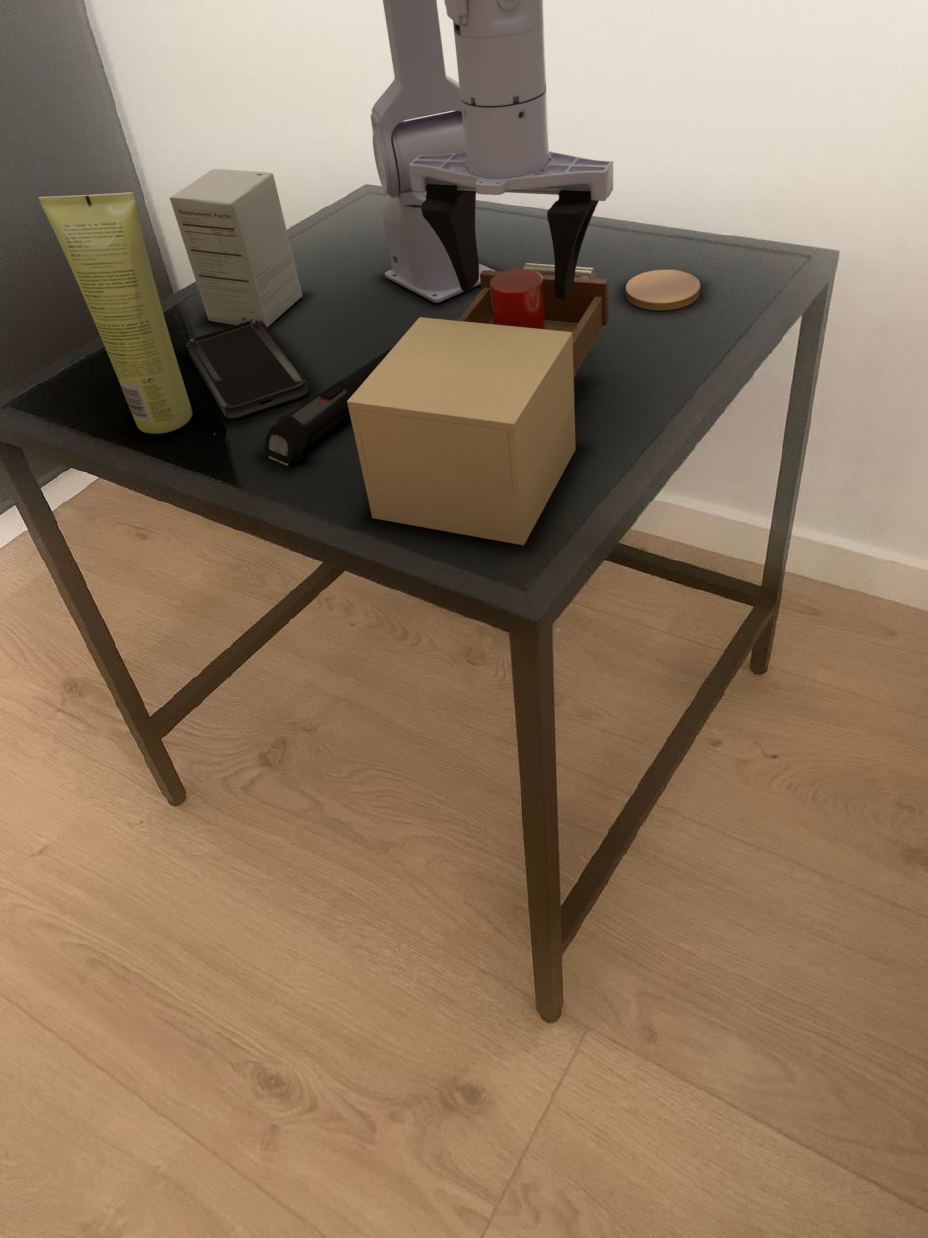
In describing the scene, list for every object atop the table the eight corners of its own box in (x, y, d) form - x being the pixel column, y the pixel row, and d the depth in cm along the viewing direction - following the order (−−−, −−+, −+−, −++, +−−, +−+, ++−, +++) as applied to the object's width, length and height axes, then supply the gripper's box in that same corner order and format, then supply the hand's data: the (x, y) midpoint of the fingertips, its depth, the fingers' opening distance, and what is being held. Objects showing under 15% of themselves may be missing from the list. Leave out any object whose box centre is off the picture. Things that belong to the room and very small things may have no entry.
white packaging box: (246, 289, 102) (212, 166, 93) (304, 297, 99) (275, 170, 90) (205, 322, 97) (166, 195, 88) (265, 331, 94) (231, 201, 86)
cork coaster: (610, 295, 92) (610, 287, 92) (661, 270, 95) (661, 262, 94) (663, 318, 88) (663, 310, 87) (715, 291, 91) (716, 283, 90)
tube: (186, 396, 87) (108, 174, 73) (209, 418, 84) (132, 190, 70) (128, 420, 85) (37, 196, 71) (149, 444, 82) (58, 214, 68)
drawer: (504, 292, 85) (500, 248, 82) (622, 302, 81) (623, 256, 78) (433, 383, 75) (426, 337, 72) (565, 400, 71) (563, 351, 68)
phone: (259, 317, 94) (309, 382, 84) (262, 328, 95) (312, 393, 84) (182, 341, 92) (223, 410, 82) (186, 352, 93) (227, 422, 82)
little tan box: (435, 429, 78) (419, 316, 72) (575, 449, 74) (572, 331, 67) (372, 518, 71) (346, 401, 64) (524, 545, 67) (514, 423, 60)
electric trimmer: (418, 381, 85) (413, 349, 83) (294, 469, 76) (285, 435, 74) (386, 371, 87) (381, 339, 84) (262, 455, 78) (253, 422, 76)
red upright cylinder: (486, 353, 77) (479, 281, 72) (523, 334, 78) (519, 263, 74) (517, 370, 74) (512, 297, 70) (556, 351, 76) (553, 278, 72)
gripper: (379, 111, 63) (409, 305, 72) (591, 115, 58) (593, 322, 67) (422, 78, 67) (445, 264, 77) (622, 79, 63) (620, 278, 72)
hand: (516, 289), depth 72 cm, fingers open, 7 cm apart
